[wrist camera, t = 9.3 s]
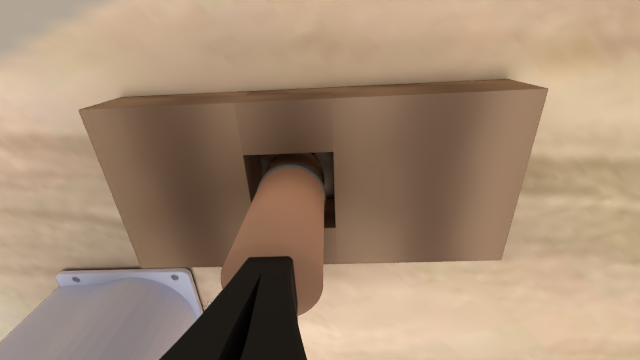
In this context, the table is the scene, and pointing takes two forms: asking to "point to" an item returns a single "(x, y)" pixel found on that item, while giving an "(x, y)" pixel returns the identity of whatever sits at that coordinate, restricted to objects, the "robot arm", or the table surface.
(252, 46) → the table surface
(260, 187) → the peg
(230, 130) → the board
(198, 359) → the robot arm
